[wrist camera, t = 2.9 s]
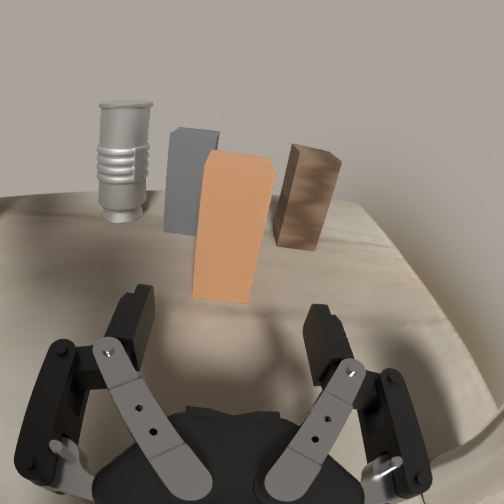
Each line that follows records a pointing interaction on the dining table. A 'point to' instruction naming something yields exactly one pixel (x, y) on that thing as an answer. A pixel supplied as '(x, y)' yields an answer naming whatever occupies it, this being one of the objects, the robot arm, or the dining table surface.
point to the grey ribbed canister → (123, 159)
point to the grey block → (186, 178)
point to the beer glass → (470, 467)
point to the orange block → (231, 224)
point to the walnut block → (305, 197)
